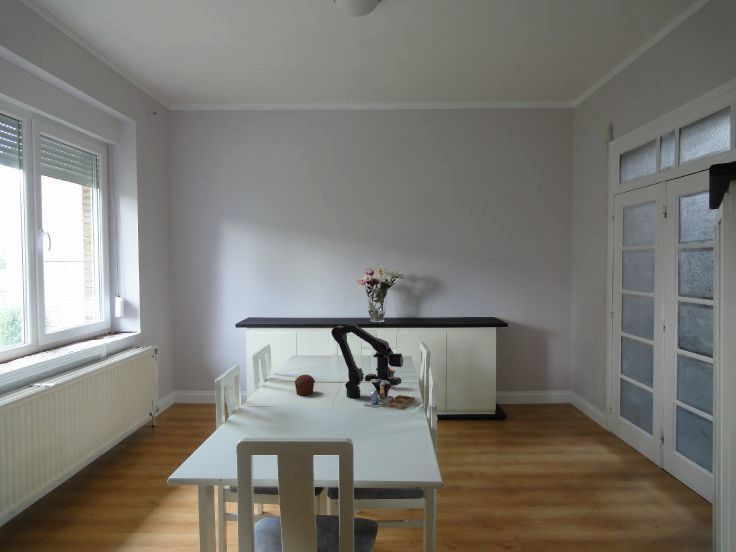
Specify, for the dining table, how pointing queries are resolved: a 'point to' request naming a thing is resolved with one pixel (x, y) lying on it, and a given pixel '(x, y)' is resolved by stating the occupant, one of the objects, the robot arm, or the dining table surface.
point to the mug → (389, 377)
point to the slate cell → (374, 397)
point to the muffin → (304, 385)
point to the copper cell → (382, 391)
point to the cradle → (379, 402)
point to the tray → (400, 402)
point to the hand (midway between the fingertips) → (383, 395)
